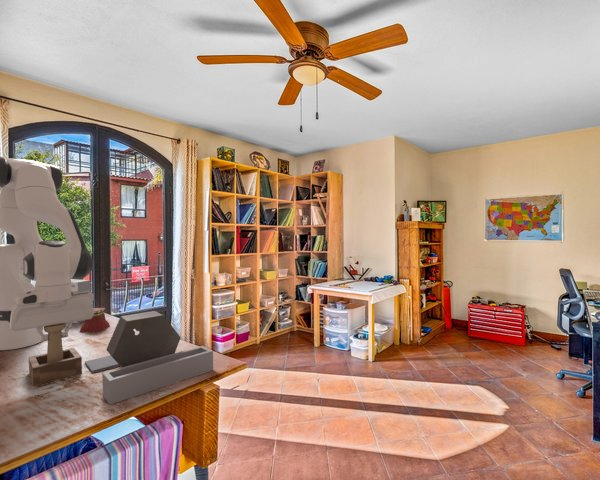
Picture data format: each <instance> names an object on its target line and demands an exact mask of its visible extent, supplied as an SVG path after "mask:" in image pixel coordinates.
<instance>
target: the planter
mask: <svg viewBox="0 0 600 480" xmlns="http://www.w3.org/2000/svg"><path fill="white" fill-rule="evenodd" d="M135 331H136V332H139V333H138V334H136V332H135ZM180 340H181V335H180V334H179V332H177V331H176V329H175V328H174V327H173V326H172V324H171V323H170V322H169V320H167V318H166V317H165V315H164V314H161V313H160V312H158V311H156V310H152V311H146V312H145V311H144V312H140V313H134V314H133V313H132V314H128V315H122V316H120V317H119V319H118V322H117V324H116V326H115V328H114V331H113V333H112V335H111V337H110V340H109V342H108V345H107V347H106V351H107V353H108V354H109V356H110V355H111V356H112V358H113V359H114V360H115V361H116V362H117V363H118V364H119V365H120V366H119V367H120V368H122V367H126V366H129V365H133V364H137V363H141V362H144V361H148V360H152V359H155V358H159V357H163V356H167V355H170V354H174V353H176V351H177V348H178V347H179V346H178V345H179V343H180Z"/></svg>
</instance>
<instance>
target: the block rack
mask: <svg viewBox="0 0 600 480" xmlns="http://www.w3.org/2000/svg"><path fill="white" fill-rule="evenodd" d="M212 371H214V350H212V349H211V348H208V347H206V346H204V345H200V346H196V347H194V348H189V349H186V350H182V351H177V352H175V353H174V354H170V355H167V356H163V357H159V358H155V359H152V360H148V361H144V362H141V363H137V364H133V365H129V366H126V367H117V368H115V369H112V370H111V369H110V370H107V371H104V372H102V373H101V374H102V377H101V378H102V396H103V398H104V399H105V401H106V402H107V403H108V404H109V405H113V404H116V403H119V402H123V401H125V400H127V399H132V398H135V397H137V396H140V395H143V394H146V393H149V392H152V391H155V390H158V389H161V388H163V387H164V388H165V387H167V386H170V385H172V384H176V383H179V382H182V381H185V380H187V379H191V378H194V377H197V376H200V375H203V374H205V373H208V372H212Z"/></svg>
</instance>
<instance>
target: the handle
mask: <svg viewBox="0 0 600 480" xmlns="http://www.w3.org/2000/svg"><path fill="white" fill-rule="evenodd" d="M65 329H66V324H65V323H63V324H56V325H50V326H44V327H43V332H45V333H46V334H48V341H47V346H46V347H47V348H46V349H47V350H46V353H47V362H48V363H51V362H55V361H60V360H63V350H64V349H63V338H62V336H61V331H64V330H65Z"/></svg>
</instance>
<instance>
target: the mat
mask: <svg viewBox="0 0 600 480" xmlns="http://www.w3.org/2000/svg"><path fill="white" fill-rule="evenodd" d="M84 365H85V366H86V367H87V369H88V370H89V371H90V372H91V374H94V373H98V372H102V371H105V370H107V371H108V370H111V369H114V368H116V367H117V368H119V367H121V366H120V365H119V364H118V363H117V362H116V361H115V360H114V359H113V358H112V356H111V355H110V354H109V355H105V356H101V357H99V358H98V357H97V358H95V359H89V360H85V361H84Z"/></svg>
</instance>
